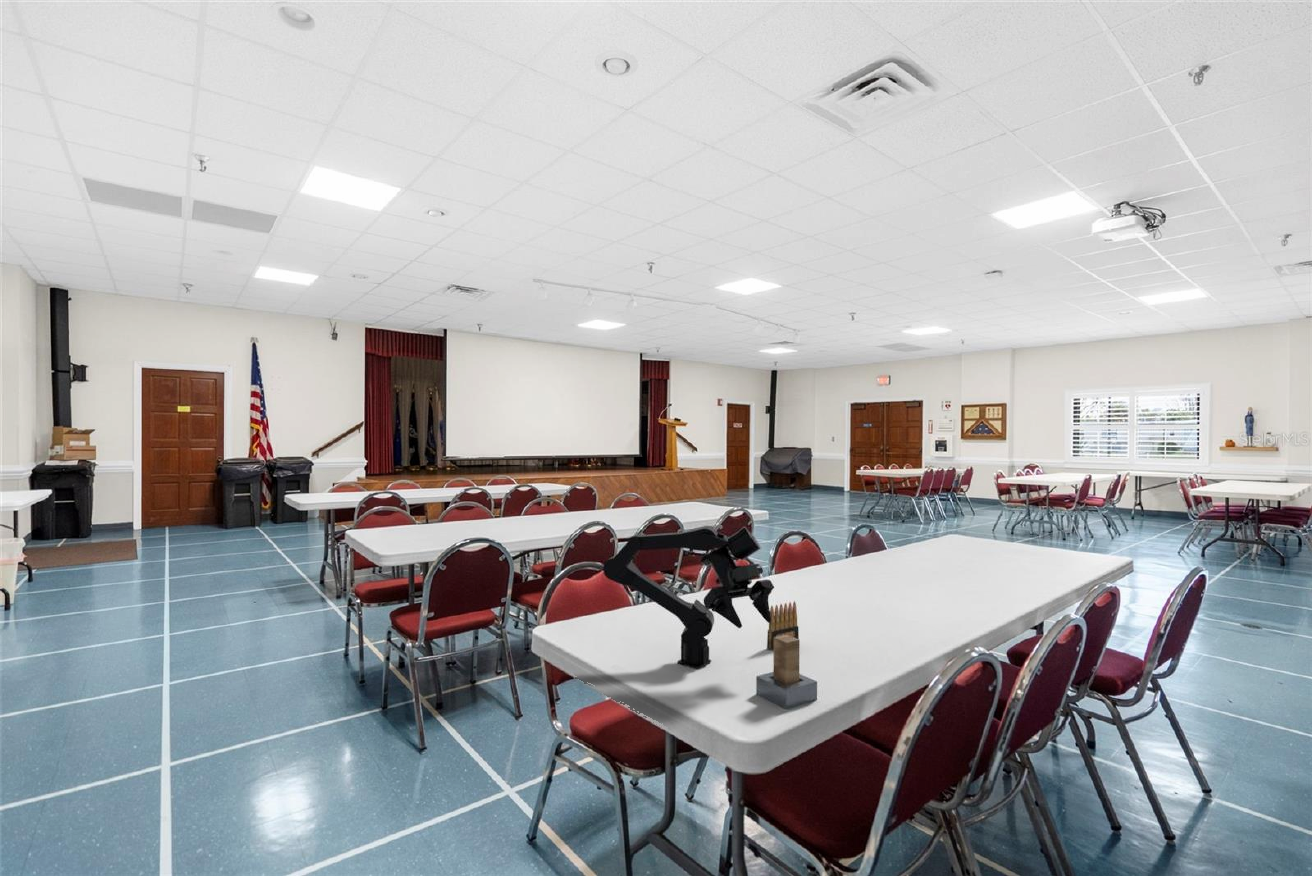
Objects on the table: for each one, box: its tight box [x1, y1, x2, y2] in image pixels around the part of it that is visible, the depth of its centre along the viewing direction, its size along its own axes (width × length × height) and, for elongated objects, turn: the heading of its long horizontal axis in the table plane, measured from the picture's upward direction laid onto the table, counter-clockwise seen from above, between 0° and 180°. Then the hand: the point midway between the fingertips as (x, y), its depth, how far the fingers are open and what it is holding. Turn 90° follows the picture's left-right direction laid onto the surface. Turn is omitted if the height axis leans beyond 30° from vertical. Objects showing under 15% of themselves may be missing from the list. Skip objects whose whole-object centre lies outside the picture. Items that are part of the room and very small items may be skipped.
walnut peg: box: [772, 635, 800, 685], centre depth 138 cm, size 4×4×13 cm
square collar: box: [755, 671, 818, 710], centre depth 138 cm, size 9×9×4 cm
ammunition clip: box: [766, 601, 800, 651], centre depth 173 cm, size 11×2×12 cm, turn 124°
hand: (755, 624), depth 146 cm, fingers open, 9 cm apart
